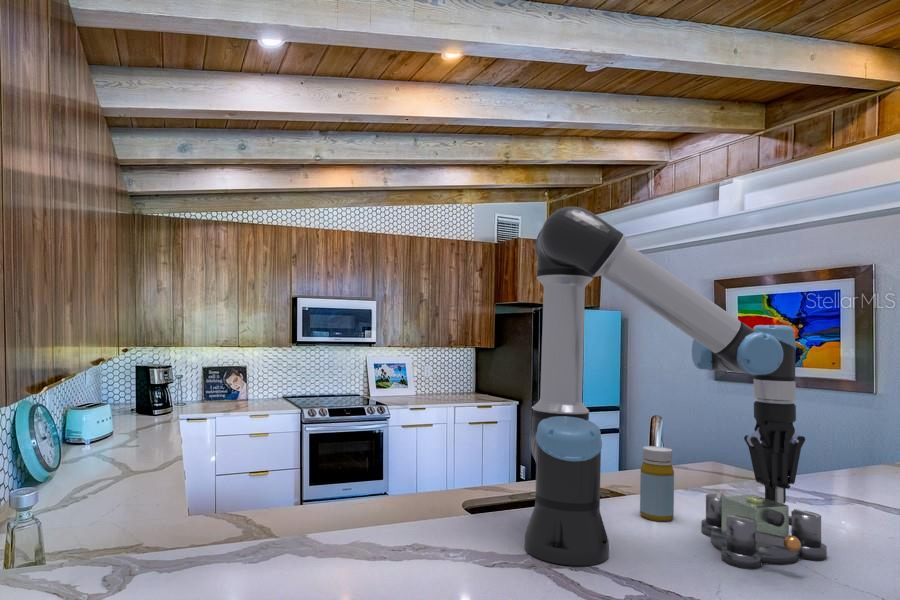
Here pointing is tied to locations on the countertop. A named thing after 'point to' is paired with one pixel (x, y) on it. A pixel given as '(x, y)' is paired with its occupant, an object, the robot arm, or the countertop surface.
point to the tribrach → (768, 520)
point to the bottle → (657, 484)
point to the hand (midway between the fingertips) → (775, 519)
